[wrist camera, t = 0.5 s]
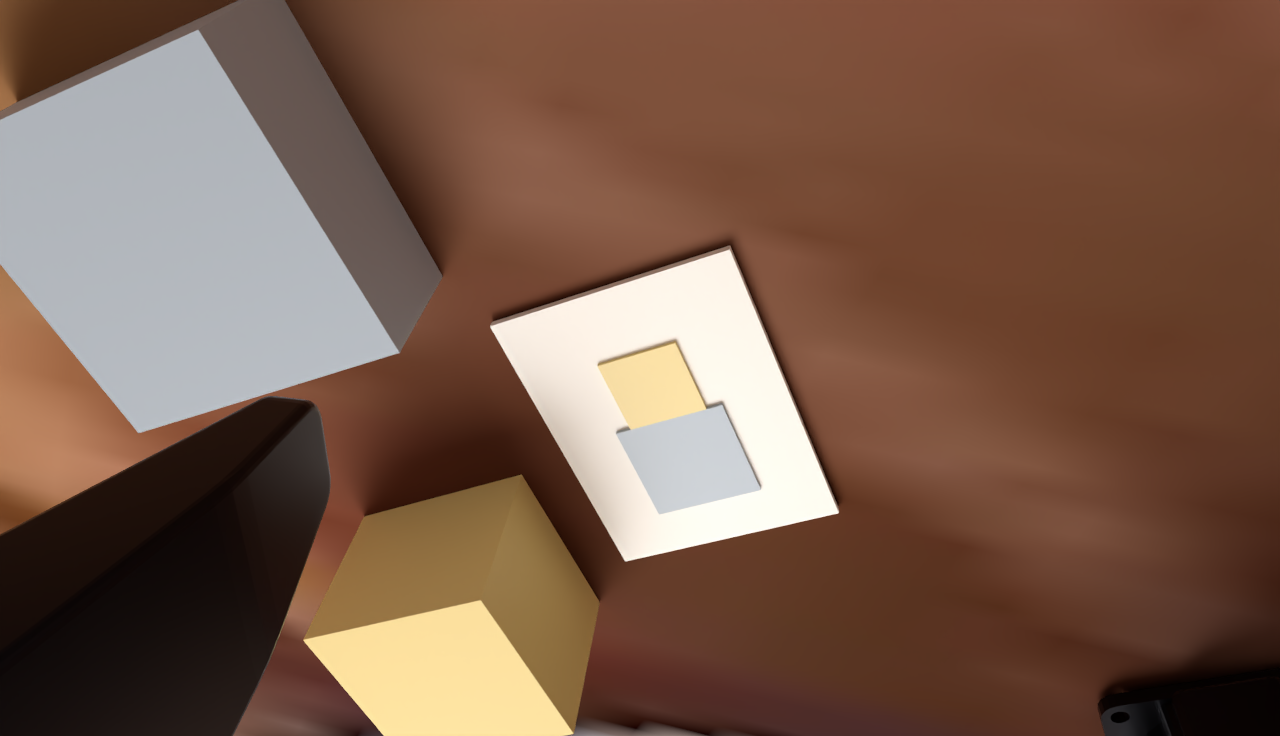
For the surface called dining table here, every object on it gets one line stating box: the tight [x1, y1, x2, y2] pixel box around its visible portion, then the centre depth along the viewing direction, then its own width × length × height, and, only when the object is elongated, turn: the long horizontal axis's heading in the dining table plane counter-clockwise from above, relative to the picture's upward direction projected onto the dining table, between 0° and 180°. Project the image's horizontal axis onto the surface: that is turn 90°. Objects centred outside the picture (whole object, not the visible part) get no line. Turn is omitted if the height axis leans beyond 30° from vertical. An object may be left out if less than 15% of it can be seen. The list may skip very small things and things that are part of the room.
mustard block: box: [303, 475, 600, 736], centre depth 27 cm, size 5×5×4 cm
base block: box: [0, 0, 443, 433], centre depth 22 cm, size 7×7×4 cm
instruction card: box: [490, 245, 839, 562], centre depth 25 cm, size 8×6×1 cm
